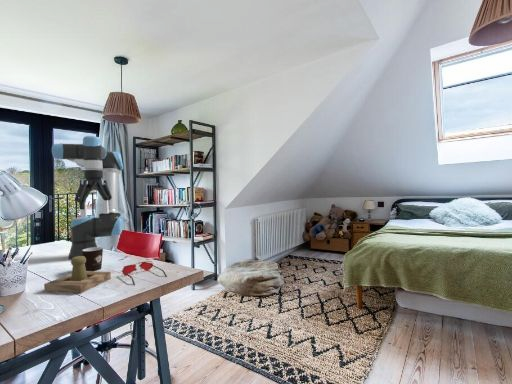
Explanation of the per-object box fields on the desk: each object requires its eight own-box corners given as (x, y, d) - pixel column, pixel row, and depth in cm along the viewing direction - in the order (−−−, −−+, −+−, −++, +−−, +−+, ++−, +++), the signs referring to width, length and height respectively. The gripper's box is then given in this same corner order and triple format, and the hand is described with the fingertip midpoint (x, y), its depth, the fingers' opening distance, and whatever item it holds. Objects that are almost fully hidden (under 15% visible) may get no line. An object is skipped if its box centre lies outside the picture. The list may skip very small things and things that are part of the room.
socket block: (78, 277, 120) (78, 270, 120) (110, 278, 117) (110, 271, 117) (44, 291, 104) (44, 283, 104) (80, 293, 101) (80, 285, 101)
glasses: (152, 269, 129) (152, 259, 129) (167, 277, 117) (167, 266, 117) (121, 276, 120) (120, 265, 120) (133, 286, 108) (133, 274, 108)
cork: (91, 281, 112) (90, 255, 112) (76, 286, 106) (75, 259, 106) (81, 280, 114) (80, 254, 114) (67, 285, 109) (65, 257, 108)
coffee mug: (101, 265, 137) (100, 246, 137) (106, 269, 131) (105, 248, 131) (73, 271, 129) (72, 250, 129) (78, 275, 123) (77, 253, 123)
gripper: (105, 171, 140) (107, 212, 140) (63, 168, 115) (65, 218, 116) (118, 170, 139) (120, 212, 139) (78, 168, 114) (80, 218, 115)
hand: (95, 215), depth 127 cm, fingers open, 13 cm apart
